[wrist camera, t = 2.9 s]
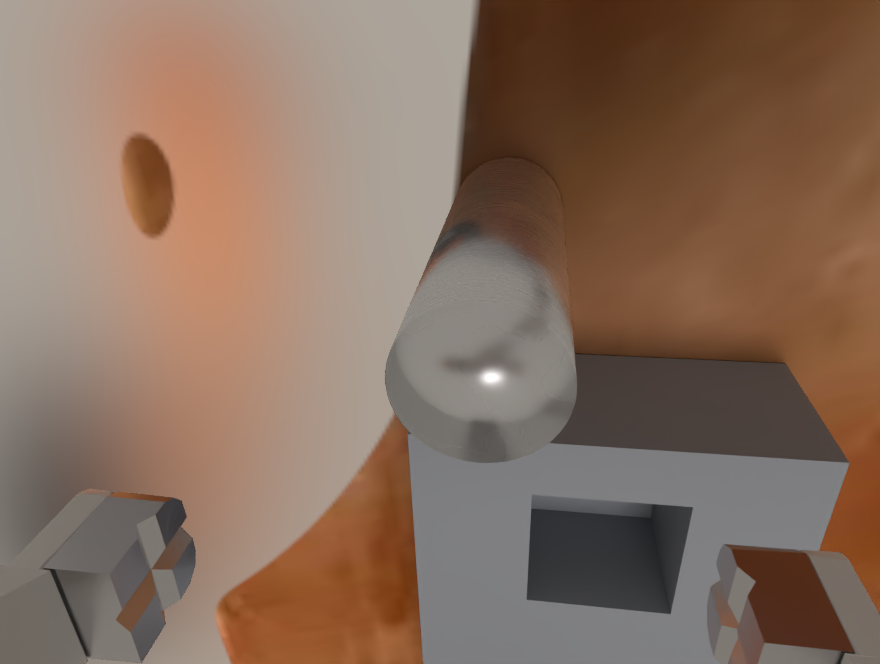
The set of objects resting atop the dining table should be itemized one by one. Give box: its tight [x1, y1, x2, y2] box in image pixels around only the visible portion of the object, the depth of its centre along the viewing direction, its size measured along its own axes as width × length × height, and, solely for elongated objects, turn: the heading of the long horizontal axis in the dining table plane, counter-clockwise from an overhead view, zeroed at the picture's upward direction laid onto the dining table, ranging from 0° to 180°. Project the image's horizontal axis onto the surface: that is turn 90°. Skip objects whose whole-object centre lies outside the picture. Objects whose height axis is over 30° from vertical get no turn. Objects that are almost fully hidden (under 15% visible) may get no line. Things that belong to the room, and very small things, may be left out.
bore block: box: [408, 354, 849, 664], centre depth 28 cm, size 20×14×6 cm
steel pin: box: [385, 157, 577, 463], centre depth 18 cm, size 4×4×12 cm
